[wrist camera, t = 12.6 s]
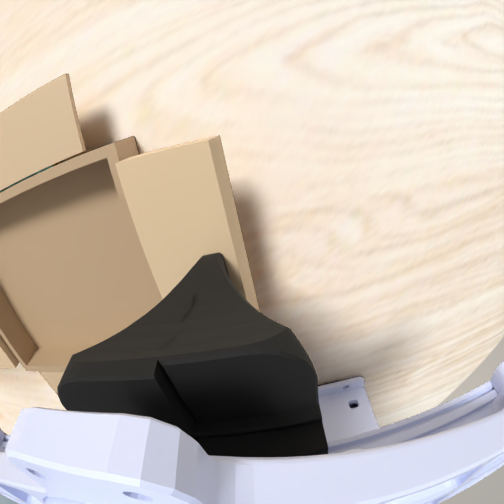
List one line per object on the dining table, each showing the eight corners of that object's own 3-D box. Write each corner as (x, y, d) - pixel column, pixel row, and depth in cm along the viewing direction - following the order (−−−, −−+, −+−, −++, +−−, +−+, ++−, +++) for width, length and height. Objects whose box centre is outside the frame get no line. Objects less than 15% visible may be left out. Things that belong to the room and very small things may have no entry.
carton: (117, 65, 11) (95, 59, 9) (215, 372, 20) (214, 401, 18) (-46, 162, 12) (-70, 173, 10) (61, 380, 20) (52, 401, 18)
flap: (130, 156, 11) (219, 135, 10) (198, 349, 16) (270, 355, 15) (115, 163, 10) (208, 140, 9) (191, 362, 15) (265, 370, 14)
